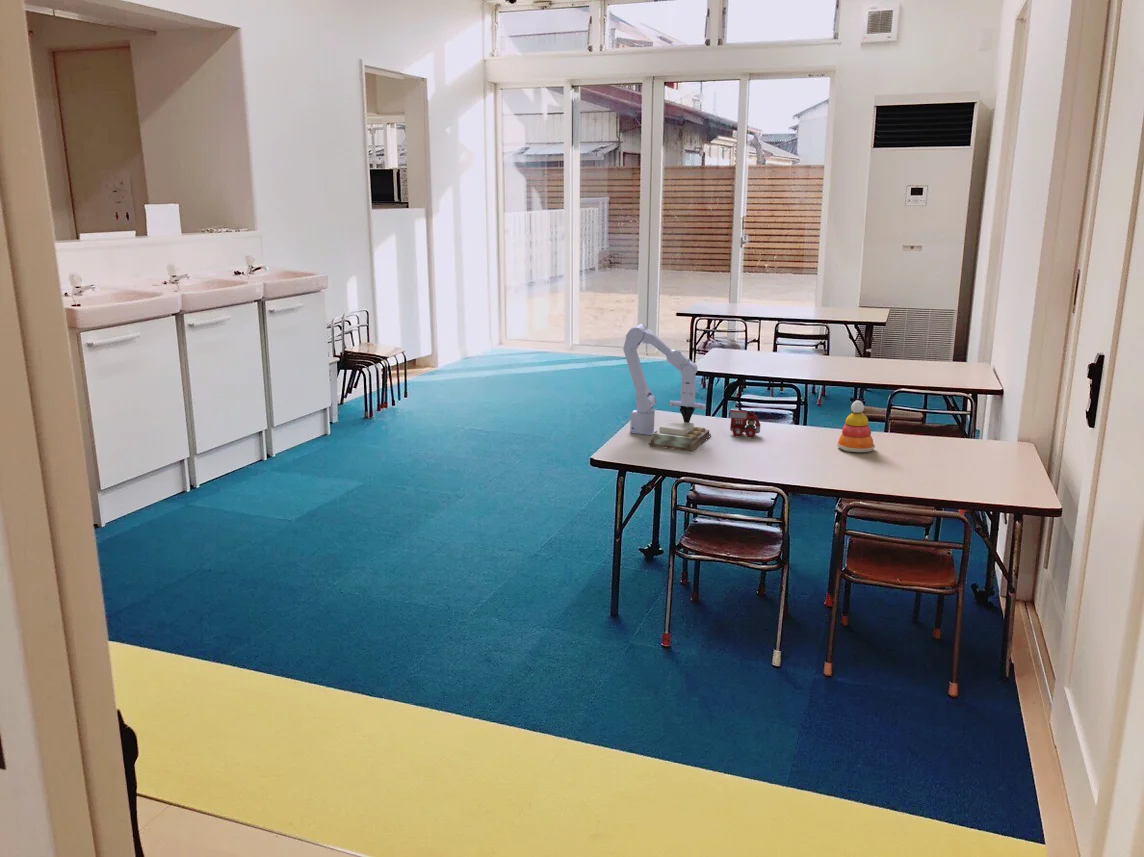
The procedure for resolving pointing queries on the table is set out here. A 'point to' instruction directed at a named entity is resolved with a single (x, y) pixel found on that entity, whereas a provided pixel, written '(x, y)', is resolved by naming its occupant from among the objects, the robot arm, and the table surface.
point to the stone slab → (676, 428)
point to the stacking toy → (856, 431)
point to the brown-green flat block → (680, 439)
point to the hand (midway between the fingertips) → (686, 424)
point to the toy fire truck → (744, 423)
